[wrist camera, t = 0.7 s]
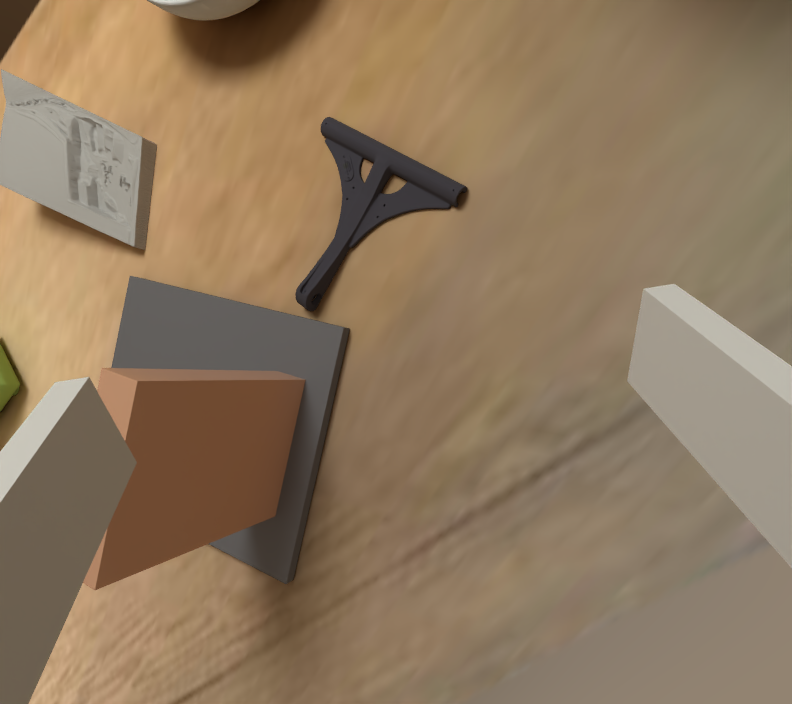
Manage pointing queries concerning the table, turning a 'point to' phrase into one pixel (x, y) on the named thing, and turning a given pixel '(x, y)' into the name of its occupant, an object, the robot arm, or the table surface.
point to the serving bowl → (204, 8)
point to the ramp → (76, 162)
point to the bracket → (370, 198)
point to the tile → (193, 460)
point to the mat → (254, 351)
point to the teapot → (7, 380)
